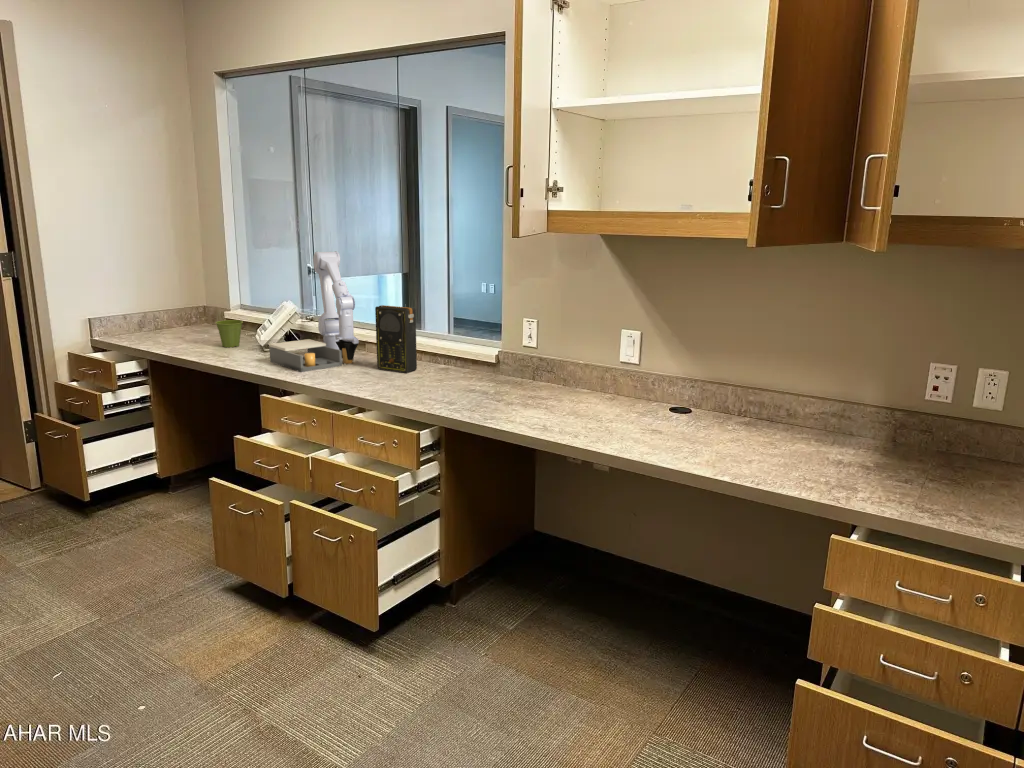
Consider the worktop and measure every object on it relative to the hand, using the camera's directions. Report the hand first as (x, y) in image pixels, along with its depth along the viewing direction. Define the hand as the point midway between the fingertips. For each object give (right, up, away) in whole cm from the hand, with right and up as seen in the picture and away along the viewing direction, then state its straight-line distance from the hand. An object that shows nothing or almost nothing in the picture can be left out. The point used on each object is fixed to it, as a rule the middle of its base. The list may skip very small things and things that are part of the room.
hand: (347, 358), depth 298 cm
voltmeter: (+22, -5, -12) cm, 26 cm away
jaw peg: (0, -2, 0) cm, 2 cm away
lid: (-20, +4, 0) cm, 21 cm away
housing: (-16, -2, -3) cm, 17 cm away
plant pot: (-61, +7, +34) cm, 70 cm away
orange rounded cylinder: (-12, -4, -12) cm, 17 cm away
